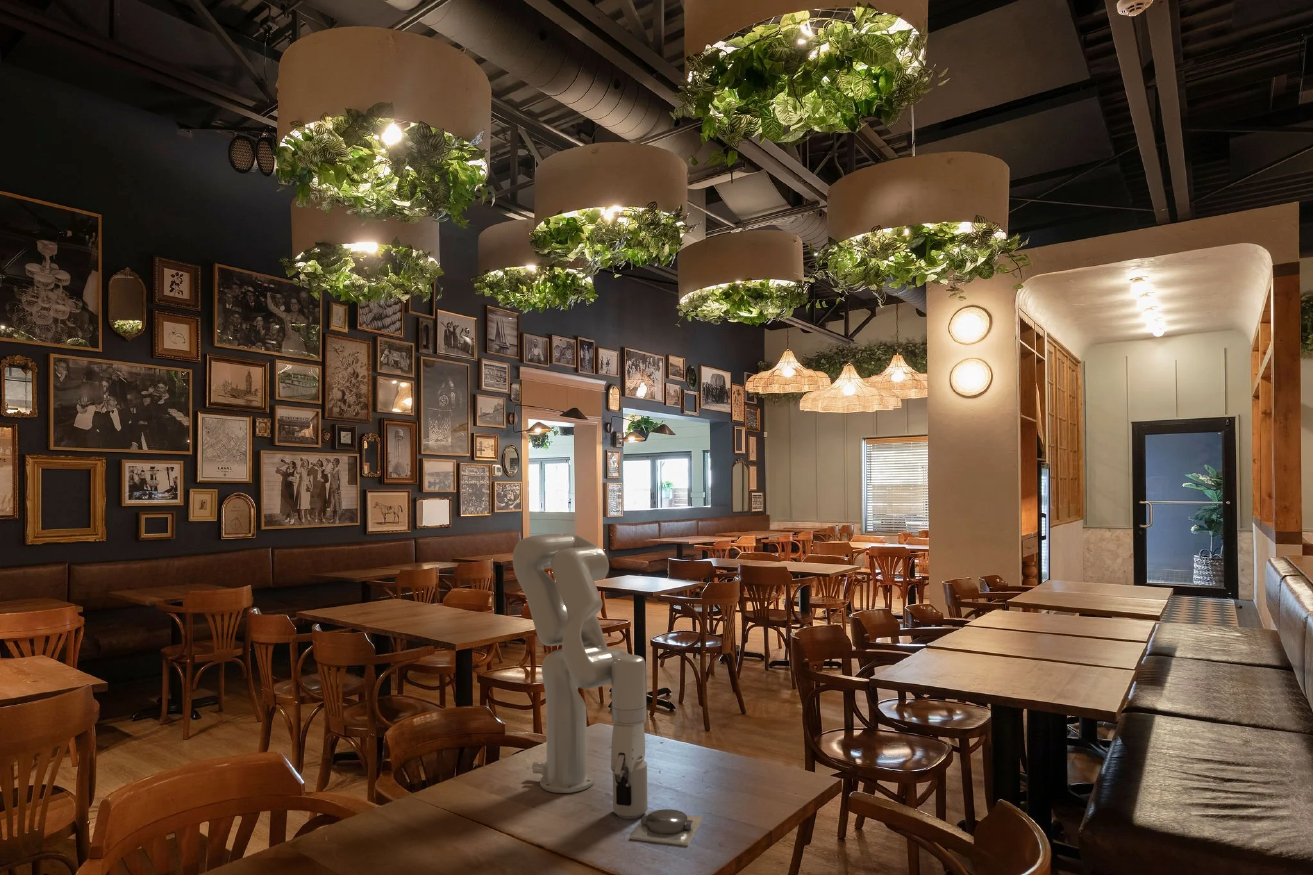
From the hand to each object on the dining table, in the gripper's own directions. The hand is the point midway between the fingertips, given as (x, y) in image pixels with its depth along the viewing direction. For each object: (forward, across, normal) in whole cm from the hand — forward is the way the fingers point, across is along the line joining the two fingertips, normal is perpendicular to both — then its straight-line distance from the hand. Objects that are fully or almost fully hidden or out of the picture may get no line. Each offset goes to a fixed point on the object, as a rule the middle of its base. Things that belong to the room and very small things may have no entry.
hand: (630, 796), depth 170 cm
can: (+4, 0, 0) cm, 4 cm away
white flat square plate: (+3, +6, +10) cm, 12 cm away
